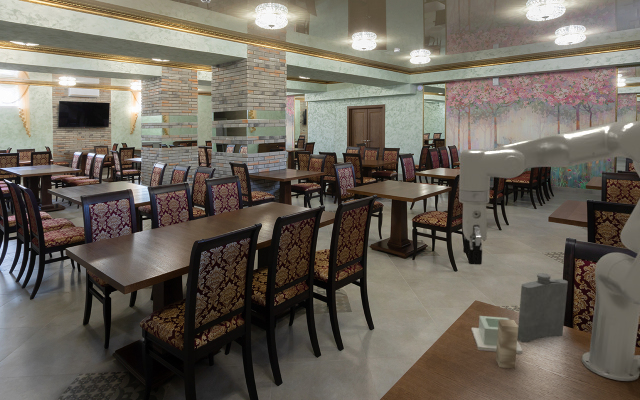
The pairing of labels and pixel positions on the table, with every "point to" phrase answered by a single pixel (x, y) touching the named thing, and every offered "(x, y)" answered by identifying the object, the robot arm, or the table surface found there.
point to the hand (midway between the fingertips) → (472, 258)
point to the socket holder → (489, 334)
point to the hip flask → (542, 308)
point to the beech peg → (507, 343)
